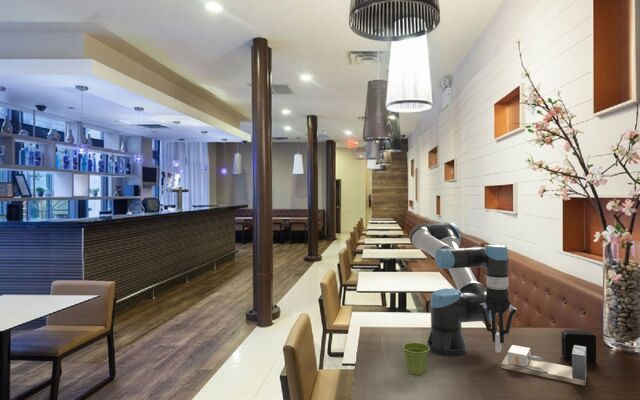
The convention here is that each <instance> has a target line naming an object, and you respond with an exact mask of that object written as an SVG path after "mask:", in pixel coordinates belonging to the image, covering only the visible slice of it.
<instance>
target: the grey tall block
mask: <svg viewBox="0 0 640 400" xmlns="http://www.w3.org/2000/svg"><path fill="white" fill-rule="evenodd" d="M571 367H572V378H575V379H580V380H585V378H586V379H587V375H586V370H587V362H586V347H584V346H578V345H574V347H573V351H572V361H571Z"/></svg>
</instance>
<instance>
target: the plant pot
mask: <svg viewBox="0 0 640 400" xmlns="http://www.w3.org/2000/svg"><path fill="white" fill-rule="evenodd" d="M402 349H403V352H404V354H405V355H404V356H405V362H406V368H407V372H408V373H410V374H411V375H416V376H421V375H424V374H425V373H426V371H427V364H428V363H427V362H428V355H429V350H430V347H429V346H428V345H427V343H426V344H425V343H421V342H408V343H404V344H403V345H402Z"/></svg>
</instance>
